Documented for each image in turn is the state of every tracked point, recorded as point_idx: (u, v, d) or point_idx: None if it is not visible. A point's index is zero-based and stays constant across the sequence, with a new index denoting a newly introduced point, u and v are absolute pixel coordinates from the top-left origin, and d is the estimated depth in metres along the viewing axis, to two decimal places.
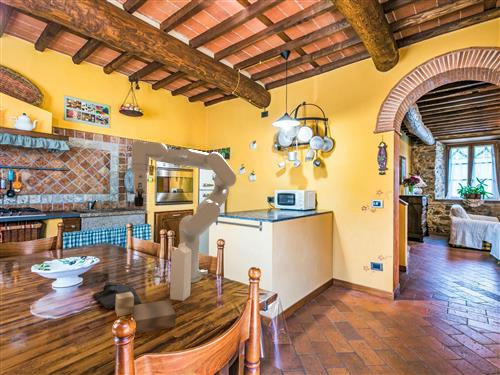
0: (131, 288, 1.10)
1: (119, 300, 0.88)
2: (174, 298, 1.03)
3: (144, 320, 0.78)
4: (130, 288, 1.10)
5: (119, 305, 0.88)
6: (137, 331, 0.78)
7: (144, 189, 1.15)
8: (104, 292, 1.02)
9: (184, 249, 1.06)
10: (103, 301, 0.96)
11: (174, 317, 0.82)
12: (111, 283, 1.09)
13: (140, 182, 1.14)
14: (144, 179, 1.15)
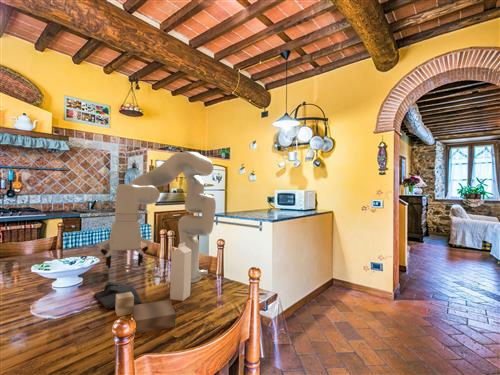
0: (132, 288, 1.10)
1: (119, 300, 0.88)
2: (174, 298, 1.03)
3: (144, 320, 0.78)
4: (130, 288, 1.10)
5: (119, 305, 0.88)
6: (137, 331, 0.78)
7: None
8: (105, 292, 1.02)
9: (184, 249, 1.06)
10: (103, 301, 0.96)
11: (174, 317, 0.82)
12: (112, 283, 1.09)
13: None
14: None
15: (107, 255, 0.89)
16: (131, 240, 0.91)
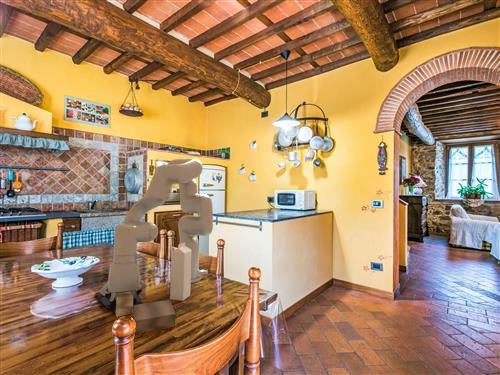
0: None
1: (118, 300, 0.88)
2: (174, 298, 1.03)
3: (144, 320, 0.78)
4: None
5: (118, 305, 0.88)
6: (137, 331, 0.78)
7: None
8: None
9: (184, 249, 1.06)
10: (104, 301, 0.96)
11: (174, 317, 0.82)
12: None
13: None
14: None
15: (111, 299, 0.89)
16: (130, 281, 0.91)
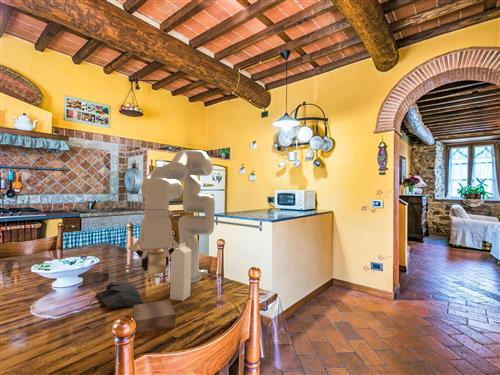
0: (134, 288, 1.10)
1: (151, 257, 0.82)
2: (174, 298, 1.03)
3: (144, 320, 0.78)
4: (132, 288, 1.10)
5: (151, 262, 0.82)
6: (137, 331, 0.78)
7: None
8: (107, 292, 1.02)
9: (184, 249, 1.06)
10: (105, 301, 0.96)
11: (174, 317, 0.82)
12: (114, 283, 1.09)
13: None
14: None
15: (143, 257, 0.83)
16: (162, 238, 0.85)
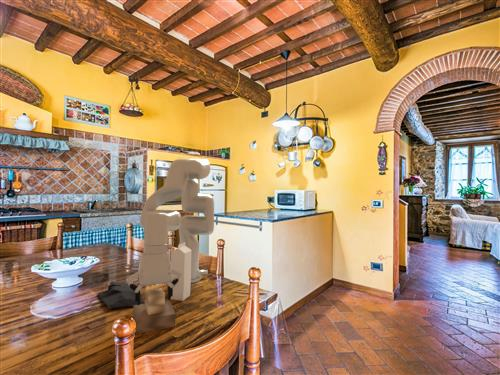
0: None
1: (150, 297, 0.82)
2: (174, 298, 1.03)
3: (144, 320, 0.78)
4: None
5: (150, 302, 0.82)
6: (137, 331, 0.78)
7: None
8: (108, 292, 1.02)
9: (185, 249, 1.06)
10: (106, 301, 0.96)
11: (174, 317, 0.82)
12: (115, 283, 1.09)
13: None
14: None
15: (136, 291, 0.82)
16: (161, 273, 0.84)
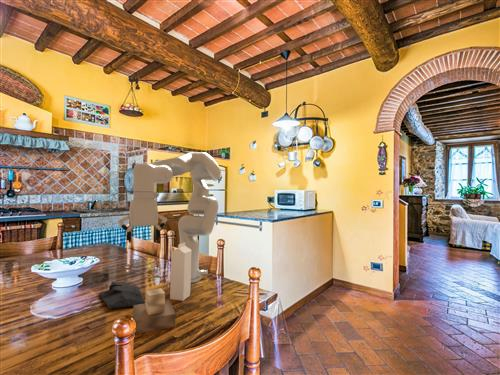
0: (136, 288, 1.10)
1: (150, 297, 0.82)
2: (174, 298, 1.03)
3: (144, 320, 0.78)
4: (135, 288, 1.10)
5: (150, 302, 0.82)
6: (137, 331, 0.78)
7: None
8: (109, 292, 1.02)
9: (184, 249, 1.06)
10: (107, 301, 0.96)
11: (174, 317, 0.82)
12: (117, 283, 1.09)
13: None
14: None
15: (128, 230, 0.95)
16: (149, 216, 0.97)
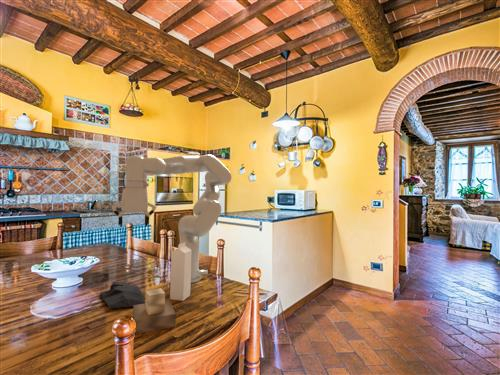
0: (137, 288, 1.10)
1: (150, 297, 0.82)
2: (174, 298, 1.03)
3: (144, 320, 0.78)
4: (136, 288, 1.10)
5: (150, 302, 0.82)
6: (137, 331, 0.78)
7: None
8: (110, 292, 1.02)
9: (184, 249, 1.06)
10: (108, 301, 0.96)
11: (174, 317, 0.82)
12: (118, 283, 1.09)
13: (147, 201, 1.11)
14: None
15: (119, 215, 1.05)
16: (139, 203, 1.08)
